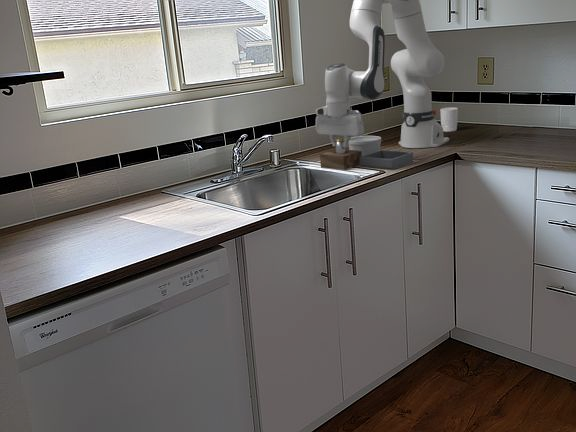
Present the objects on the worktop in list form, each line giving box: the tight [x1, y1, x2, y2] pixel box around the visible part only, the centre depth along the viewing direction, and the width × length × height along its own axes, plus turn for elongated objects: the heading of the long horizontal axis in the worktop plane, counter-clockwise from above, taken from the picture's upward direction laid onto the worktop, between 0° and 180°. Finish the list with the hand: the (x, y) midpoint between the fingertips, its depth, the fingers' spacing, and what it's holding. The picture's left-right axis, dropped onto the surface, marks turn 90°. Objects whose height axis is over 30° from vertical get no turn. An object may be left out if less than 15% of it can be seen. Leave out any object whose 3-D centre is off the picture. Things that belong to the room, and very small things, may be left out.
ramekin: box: [348, 135, 382, 156], centre depth 251 cm, size 13×13×7 cm
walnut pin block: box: [319, 148, 362, 171], centre depth 236 cm, size 11×11×5 cm
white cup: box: [439, 107, 459, 133], centre depth 291 cm, size 8×8×10 cm
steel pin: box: [335, 138, 346, 154], centre depth 236 cm, size 3×3×10 cm
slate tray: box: [359, 149, 414, 170], centre depth 233 cm, size 14×14×4 cm
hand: (340, 147), depth 235 cm, fingers closed on steel pin, 3 cm apart
